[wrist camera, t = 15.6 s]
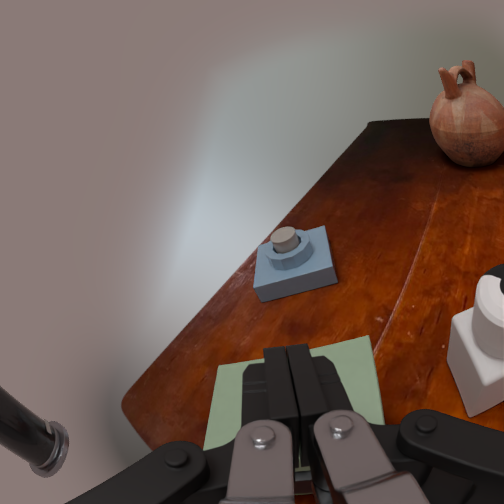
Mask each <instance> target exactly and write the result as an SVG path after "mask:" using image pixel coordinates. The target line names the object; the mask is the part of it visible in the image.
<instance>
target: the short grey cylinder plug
mask: <svg viewBox="0 0 504 504" xmlns="http://www.w3.org/2000/svg"><path fill="white" fill-rule="evenodd" d="M271 242H272V244H273V246H274V248H275V250H276V252H277V253H280V254H284V253H287V252H290V251H292V250H294V249H295V248H297V247H298V245H299V243H300V241H299V239H298V236H297V234H296V231H295V229H294V228H293V227H283V228H280V229H278V230H277V231H275V232H274V233H273V234H272V235H271Z"/></svg>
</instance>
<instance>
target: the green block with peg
mask: <svg viewBox="0 0 504 504" xmlns="http://www.w3.org/2000/svg"><path fill="white" fill-rule="evenodd" d="M310 353H311V356H312V357H315V356H322V355H324V356H325V357H327V358H328V359H329V360H330V361H332V362H333V363H334V365H335V368H336V370H337V374H338V375H339V377H340V379H341V382H342V384H343V386H344V388H345V391H346V393H347V395H348V398H349V400H350V402H351V405H352V407H353V409H354V411H355V412H357V413H359V414H361V415H362V416H363V417H364V418H365V419H366V420H367V422H369V423H372V424H378V425H385V420H384V413H383V407H382V401H381V395H380V389H379V383H378V378H377V372H376V367H375V362H374V357H373V352H372V347H371V342H370V338H369V336H368V335H367V336H364V337H360V338H356V339H352V340H348V341H344V342H340V343H336V344H332V345H327V346H323V347H319V348H314V349H310ZM254 363H264V359H258V360H252V361H246V362H240V363H233V364H227V365H220V366H218V371H217V377H216V382H215V388H214V393H213V399H212V404H211V410H210V415H209V421H208V426H207V432H206V437H205V443H204V449H203V451H204V450H208V449H212V448H216V447H219V446H222V445H225V444H227V443H229V442H230V441H232V440H233V439H234V438H235V437H236V434H237V432H238V431H239V430H240V429H241V411H242V373H243V372H244V370H245V369H246V367H247V366H248V364H254ZM309 470H310V466H307V467H301V463H300V457H299V468H295V472H297V471H309ZM303 494H313V493H302V494H294V495H303Z"/></svg>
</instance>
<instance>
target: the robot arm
mask: <svg viewBox="0 0 504 504" xmlns="http://www.w3.org/2000/svg"><path fill="white" fill-rule="evenodd" d="M263 352H264V363H254V364H248V366H247V367H246V369H245V370H244V372H243V373H242V411H241V429H240V430H239V431H238V432H237V434H236V437H235V438H234V439H233V440H232V441H230V442H229V443H227V444H225V445H222V446H219V447H216V448H212V449H208V450H204V451H203V450H202V449H201V448H200V447H199V446H198V445H196V444H194V443H191V442H187V441H174V442H169V443H166V444H164V445H162V446H160V447H159V448H157V449H156V450H154V451H153V452H151V453H150V454H148V455H147V456H145V457H144V458H142V459H140V460H139V461H138V462H136V463H134V464H133V465H131V466H130V467H128V468H126V469H125V470H123V471H121V472H120V473H118V474H116V475H115V476H113V477H112V478H110V479H108V480H106V481H105V482H103V483H102V484H100V485H98V486H96V487H94V488H93V489H91V490H89V491H87V492H85V493H84V494H82V495H80V496H78V497H76V498H75V499H72V500H71V501H69V502H67V503H65V504H295V501H294V486H295V468H299V457H300V463H301V467H307V466H310V471H311V476H312V477H311V488H312V491H313V495H314V498H315V502H316V504H504V432H502V431H498V430H495V429H491V428H488V427H484V426H481V425H478V424H475V423H471V422H468V421H465V420H462V419H459V418H456V417H453V416H450V415H447V414H444V413H441V412H438V411H435V410H430V409H420V410H416V411H413V412H411V413H409V414H407V415H406V416H405V417H404V418H403V419H402V421H401V424H398V425H378V424H372V423H369V422H367V420H366V419H365V418H364V417H363V416H362V415H361V414H359V413H357V412H355V411H354V409H353V407H352V405H351V402H350V400H349V398H348V395H347V393H346V391H345V388H344V386H343V384H342V382H341V379H340V377H339V375H338V374H337V370H336V368H335V365H334V363H333V362H332V361H330V360H329V359H328V358H327V357H325V356H324V355H322V356H315V357H312V356H311V353H310V350H309V347H308V345H307V343H306V344H298V345H290V346H286V352H285V347H284V346H282V347H272V348H263ZM0 444H1V445H2V446H4V447H5V448H7V449H8V450H10V451H11V452H13V453H14V454H16V455H17V456H19V457H21V458H22V459H24V460H26V461H27V462H29V463H31V464H32V465H33V466H35V467H36V468H38V469H44V468H46V467H48V466H49V465H50V464H51V463H52V462H53V460H54V459H55V457H56V455H57V452H58V449H59V444H60V436H59V433H58V431H57V429H56V428H55V427H53V426H52V425H50V424H49V422H48V421H47V420H45V419H44V420H42V419H41V418H40V417H38V416H37V415H35V414H34V413H33V412H32V411H30V410H29V409H27V408H26V407H25V406H24V405H22V404H21V403H20V402H19V401H17V400H16V399H15V398H14V397H12V396H11V395H10V394H9V393H8V392H7V391H5V390H4V389H3V388H2V387H1V386H0Z"/></svg>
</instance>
